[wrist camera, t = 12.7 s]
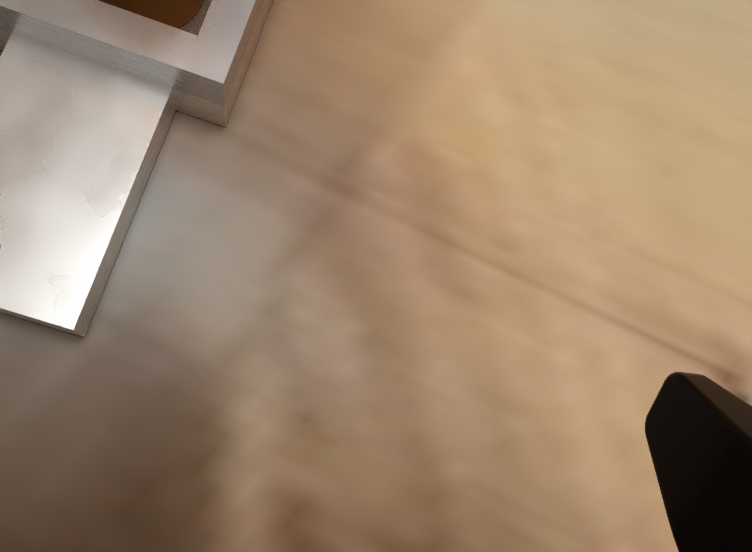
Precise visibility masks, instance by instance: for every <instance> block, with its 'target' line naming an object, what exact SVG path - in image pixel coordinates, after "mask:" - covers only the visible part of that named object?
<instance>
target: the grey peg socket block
mask: <svg viewBox="0 0 752 552" xmlns="http://www.w3.org/2000/svg"><path fill="white" fill-rule="evenodd" d="M272 2H273V0H212V2H211V4H210V7H209V9H208V12H207V14H206V17H205V19H204V22H203V24H202V26H201V29H200V31H199V34H198V36H197V35H194V34H191V33H189V32H186V31H183V30H180V29H177V28H175V27H172V26H169V25H166V24H163V23H161V22H158V21H155V20H152V19H149V18H146V17H144V16H141V15H138V14H135V13H132V12H130V11H127V10H124V9H121V8H118V7H116V6H113V5H110V4H107V3H104V2H101V1H99V0H0V50H2V51H3V52H2V54H1V56H0V312H1V313H5V314H8V315H11V316H15V317H18V318H21V319H25V320H28V321H31V322H34V323H38V324H41V325H44V326H48V327H51V328H54V329H58V330H61V331H64V332H68V333H71V334H74V335H78V336H81V337H84V338H85V335H86V333H87V330H88V328H89V325H90V323H91V320H92V318H93V315H94V313H95V310H96V308H97V305H98V303H99V300H100V298H101V295H102V293H103V290H104V288H105V285H106V283H107V281H108V278H109V276H110V273H111V271H112V268H113V266H114V263H115V261H116V258H117V256H118V253H119V251H120V248H121V246H122V243H123V241H124V238H125V236H126V233H127V231H128V228H129V226H130V223H131V221H132V218H133V216H134V213H135V211H136V208H137V206H138V203H139V201H140V199H141V196H142V194H143V191H144V189H145V186H146V184H147V181H148V179H149V176H150V174H151V171H152V169H153V166H154V164H155V161H156V159H157V156H158V154H159V151H160V149H161V146H162V144H163V141H164V139H165V136H166V134H167V131H168V129H169V126H170V124H171V121H172V119H173V117H174V114H175V112H176V110H177V111H180V112H183V113H186V114H189V115H192V116H195V117H197V118H200V119H203V120H206V121H209V122H212V123H215V124H218V125H221V126H224V127H226V124H227V122H228V119H229V116H230V114H231V111H232V108H233V106H234V103H235V100H236V98H237V95H238V92H239V90H240V87H241V84H242V82H243V79H244V77H245V74H246V71H247V69H248V66H249V63H250V61H251V58H252V55H253V53H254V50H255V47H256V45H257V42H258V39H259V37H260V34H261V32H262V29H263V26H264V24H265V21H266V18H267V16H268V13H269V10H270V8H271V5H272Z"/></svg>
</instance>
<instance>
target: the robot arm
mask: <svg viewBox="0 0 752 552" xmlns="http://www.w3.org/2000/svg"><path fill="white" fill-rule="evenodd" d="M645 433H646V438H647V442H648V446H649V449H650V453H651V457H652V461H653V464H654V468H655V472H656V475H657V479H658V483H659V487H660V490H661V494H662V498H663V502H664V505H665V509H666V513H667V517H668V520H669V523H670V527H671V530H672V533H673V537H674V539H675V542H676V545H677V548H678V551H679V552H752V406H751V405H749V404H748V403H746V402H744V401H743V400H741V399H740V398H738V397H737V396H735V395H734V394H732V393H731V392H729V391H727V390H726V389H724V388H723V387H721V386H720V385H718V384H717V383H715V382H714V381H712V380H711V379H709V378H707V377H706V376H704V375H700V374H693V373H684V372H674V373H672V374H670V375H669V376H668V377H667V378H666V380H665V381H664V383H663V385H662V387H661V389H660V391H659V393H658V395H657V397H656V399H655V401H654V403H653V405H652V407H651V409H650V411H649V413H648V415H647V417H646V422H645Z"/></svg>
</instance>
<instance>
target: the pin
mask: <svg viewBox="0 0 752 552" xmlns="http://www.w3.org/2000/svg"><path fill="white" fill-rule="evenodd" d="M99 1H101V2H104V3H107V4H110V5H113V6H116V7H118V8H121V9H124V10H127V11H130V12H132V13H135V14H138V15H141V16H144V17H146V18H149V19H152V20H155V21H158V22H161V23H163V24H166V25H169V26H172V27H175V28H179V27H181V26H183V25H184V24H186V23H187V22H189V21H190V20H191V19H192V18H193V17H194V16H195V15H196V14H197V12H198V11H199V9H200V8H201V6H202V4H203V1H204V0H99Z"/></svg>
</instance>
